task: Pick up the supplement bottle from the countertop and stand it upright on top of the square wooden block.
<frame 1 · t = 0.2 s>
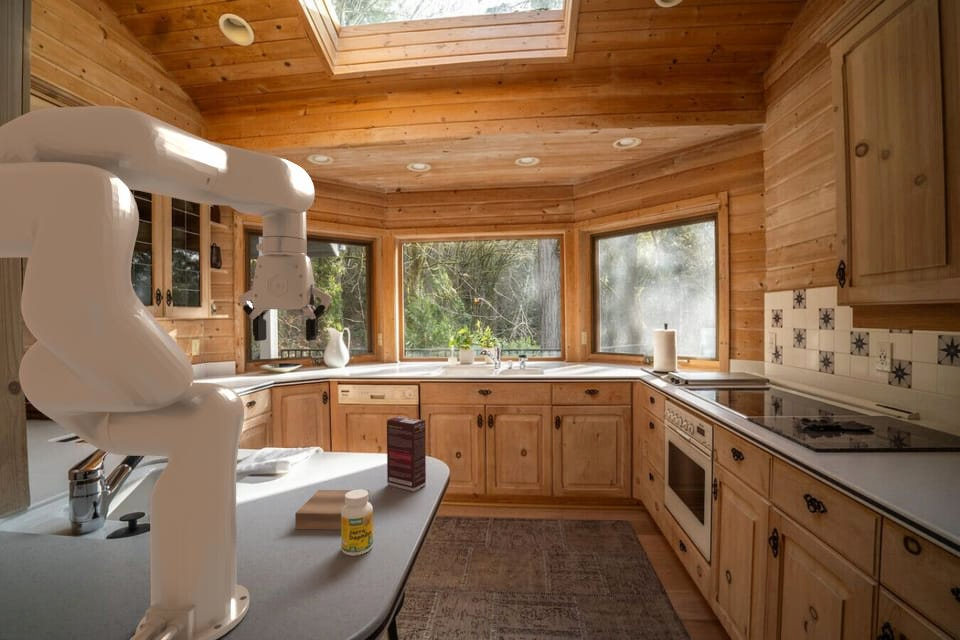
hand: (285, 340, 80), 36 cm above the countertop, tool pointing down, fingers open, 9 cm apart
square wooden block: (334, 515, 86), on the countertop
supplement box: (406, 486, 102), on the countertop
supplement bottle: (357, 549, 74), on the countertop
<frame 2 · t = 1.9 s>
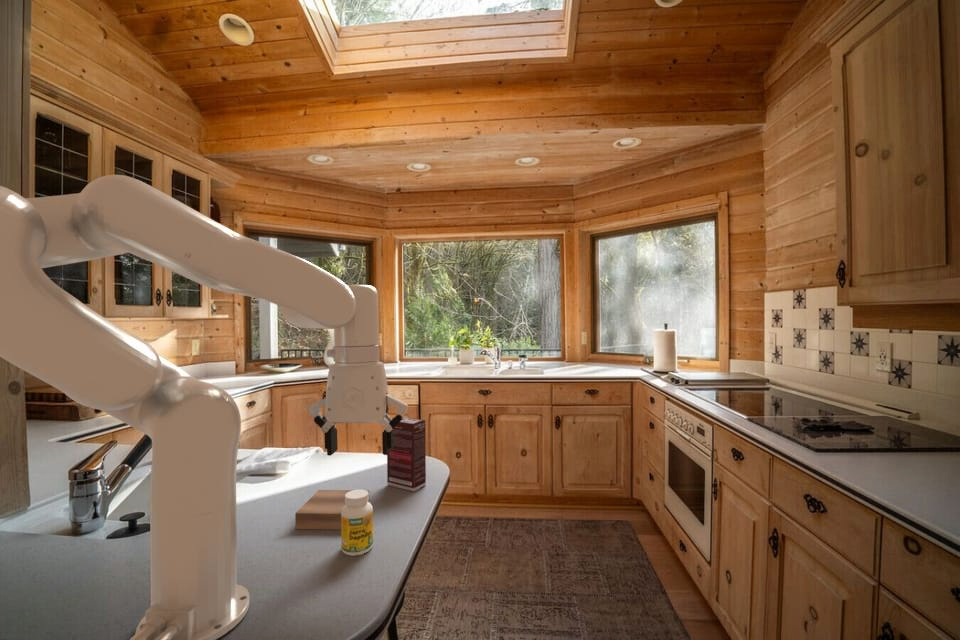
hand: (359, 452, 74), 17 cm above the countertop, tool pointing down, fingers open, 9 cm apart
nothing on the countertop moved.
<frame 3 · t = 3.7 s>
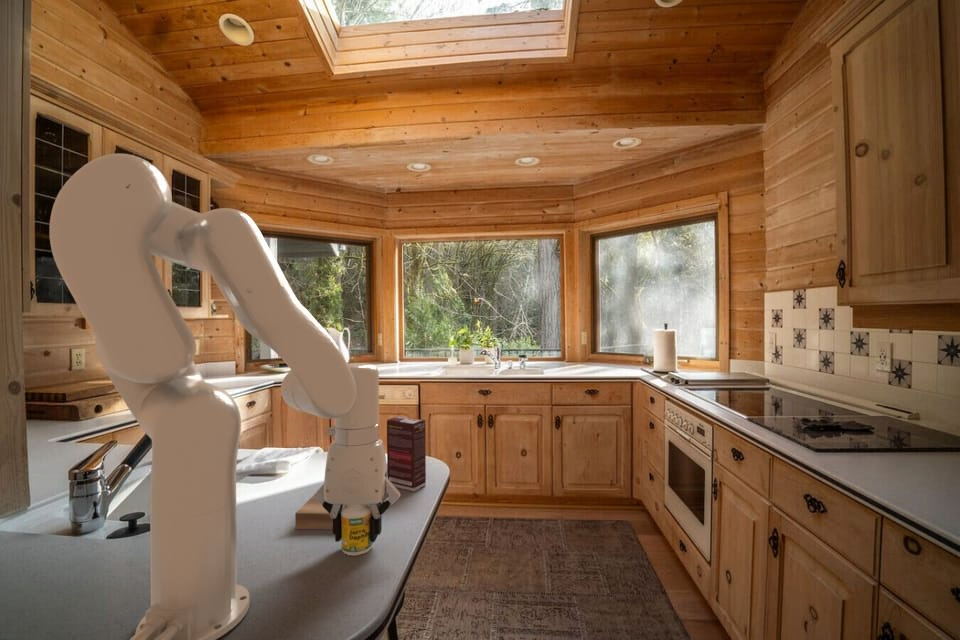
hand: (357, 536, 74), 2 cm above the countertop, tool pointing down, fingers closed on supplement bottle, 5 cm apart
supplement bottle: (357, 549, 74), on the countertop, touching gripper
everything else where it was.
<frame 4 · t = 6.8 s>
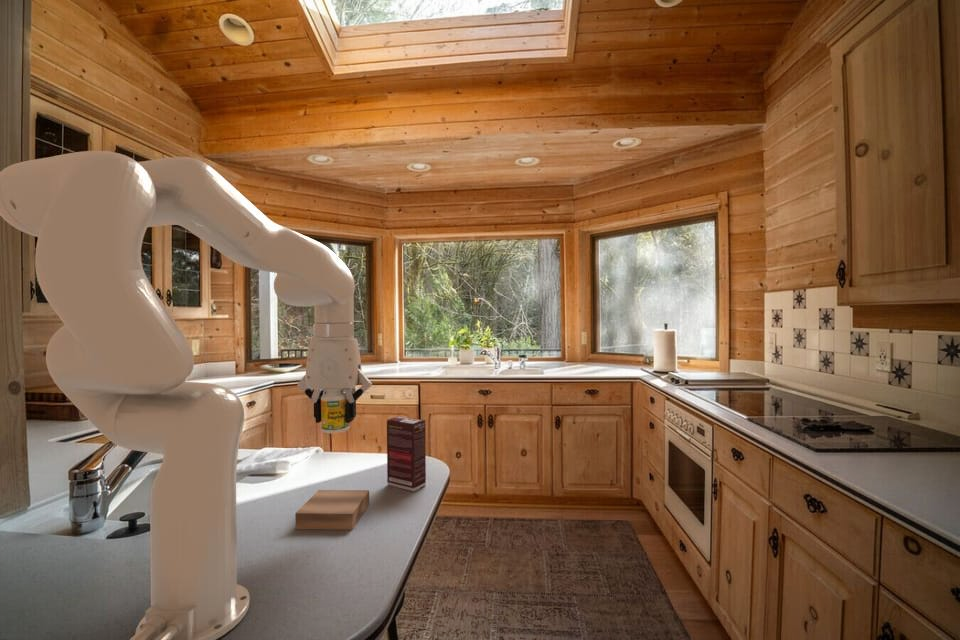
hand: (335, 420, 86), 20 cm above the countertop, tool pointing down, fingers closed on supplement bottle, 5 cm apart
supplement bottle: (335, 431, 86), point 17 cm above the countertop, touching gripper
everything else where it was.
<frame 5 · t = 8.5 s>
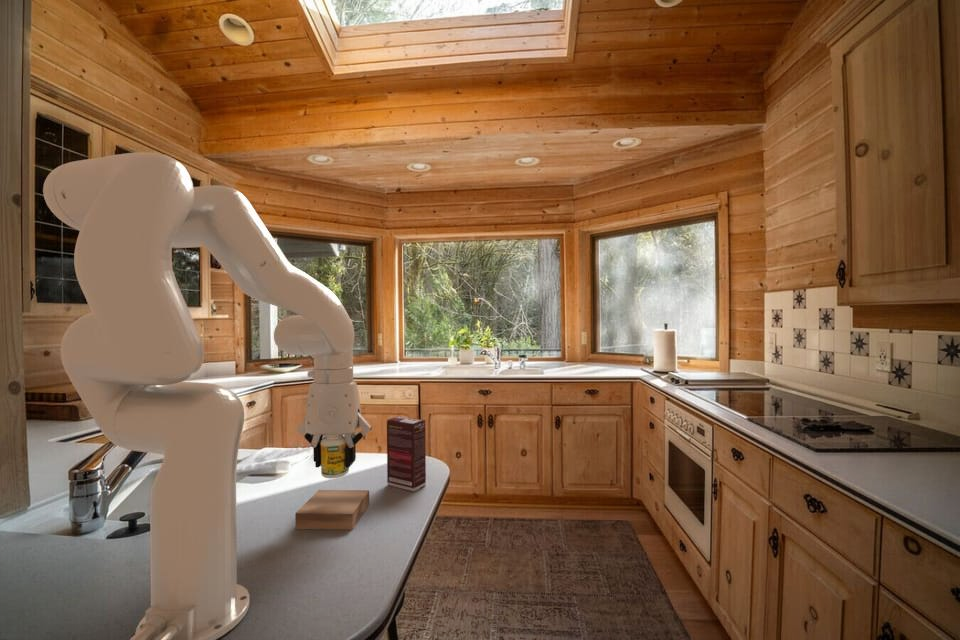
hand: (334, 464, 87), 10 cm above the countertop, tool pointing down, fingers closed on supplement bottle, 5 cm apart
supplement bottle: (335, 474, 87), point 8 cm above the countertop, touching gripper
everything else where it was.
when the fingers open (6 cm above the countertop, at t = 9.7 s): supplement bottle drops 1 cm, resting on square wooden block.
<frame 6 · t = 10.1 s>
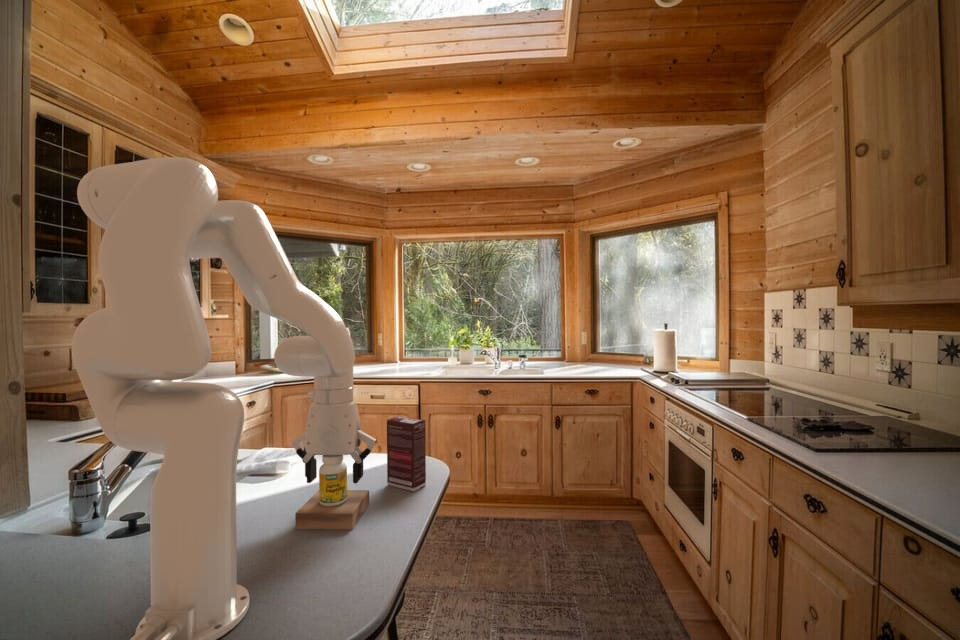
hand: (334, 480, 86), 7 cm above the countertop, tool pointing down, fingers open, 9 cm apart
supplement bottle: (333, 502, 86), point 3 cm above the countertop, touching square wooden block
everything else where it was.
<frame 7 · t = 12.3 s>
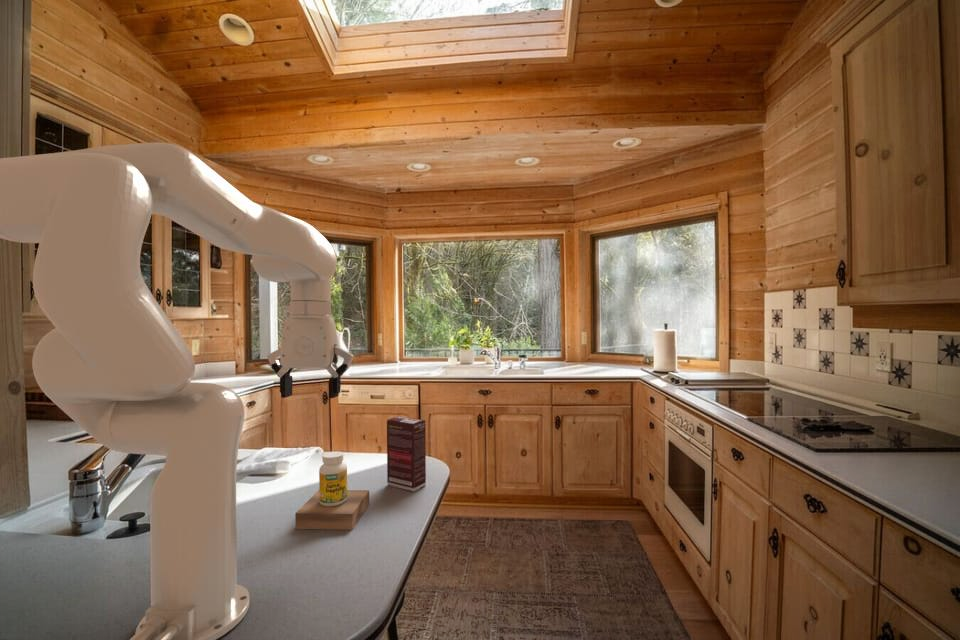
hand: (310, 396, 85), 25 cm above the countertop, tool pointing down, fingers open, 9 cm apart
nothing on the countertop moved.
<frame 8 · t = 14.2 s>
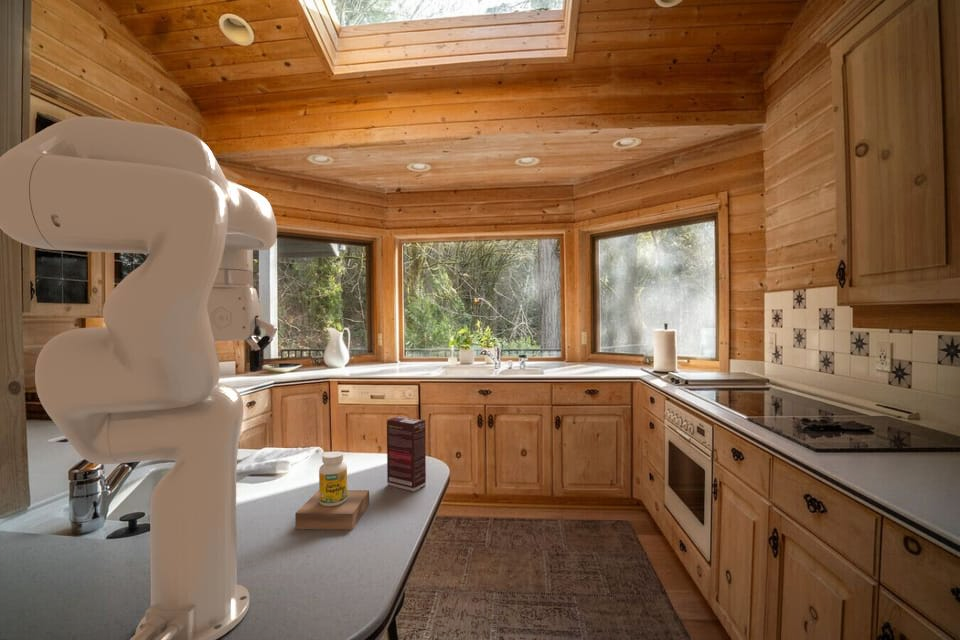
hand: (231, 370, 81), 30 cm above the countertop, tool pointing down, fingers open, 9 cm apart
nothing on the countertop moved.
at the end: supplement bottle 0.2 cm off-centre on the square wooden block, point 2.8 cm above the square wooden block's base; supplement bottle tilted 0°; the gripper is holding nothing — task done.
